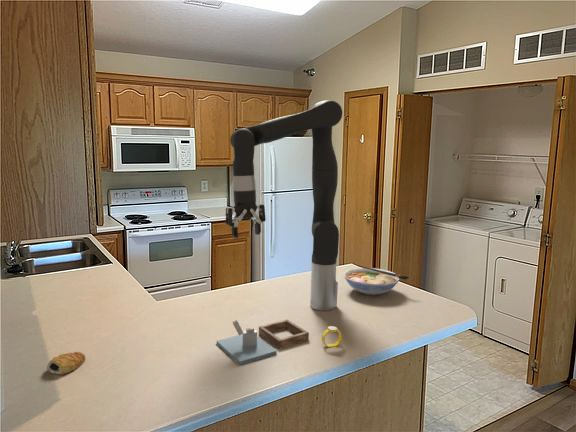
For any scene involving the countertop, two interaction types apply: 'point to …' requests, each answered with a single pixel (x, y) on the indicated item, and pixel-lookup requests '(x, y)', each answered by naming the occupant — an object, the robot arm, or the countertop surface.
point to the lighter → (247, 335)
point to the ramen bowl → (372, 280)
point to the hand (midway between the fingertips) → (246, 236)
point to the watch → (332, 329)
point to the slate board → (245, 349)
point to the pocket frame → (299, 337)
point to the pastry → (66, 363)
